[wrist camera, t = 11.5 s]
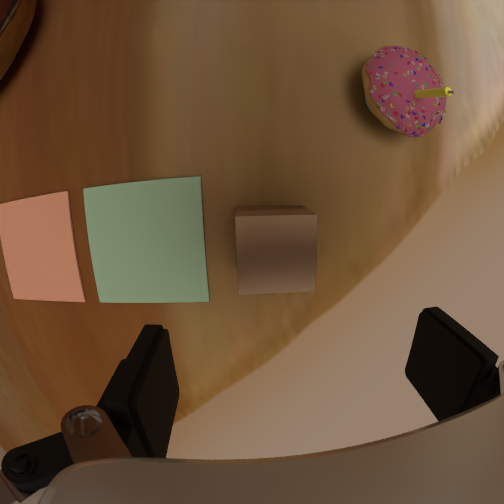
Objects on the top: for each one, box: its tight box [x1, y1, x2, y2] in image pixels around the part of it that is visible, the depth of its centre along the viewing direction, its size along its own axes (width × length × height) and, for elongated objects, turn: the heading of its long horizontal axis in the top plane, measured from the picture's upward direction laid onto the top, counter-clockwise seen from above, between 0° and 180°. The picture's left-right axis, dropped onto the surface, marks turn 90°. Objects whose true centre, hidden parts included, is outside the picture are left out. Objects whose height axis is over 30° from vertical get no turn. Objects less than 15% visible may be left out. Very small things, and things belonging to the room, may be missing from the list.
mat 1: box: [0, 191, 86, 302], centre depth 27 cm, size 12×12×1 cm
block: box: [235, 206, 318, 295], centre depth 25 cm, size 6×6×6 cm
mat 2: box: [83, 176, 209, 303], centre depth 27 cm, size 12×12×1 cm
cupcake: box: [361, 46, 456, 137], centre depth 19 cm, size 9×8×12 cm
